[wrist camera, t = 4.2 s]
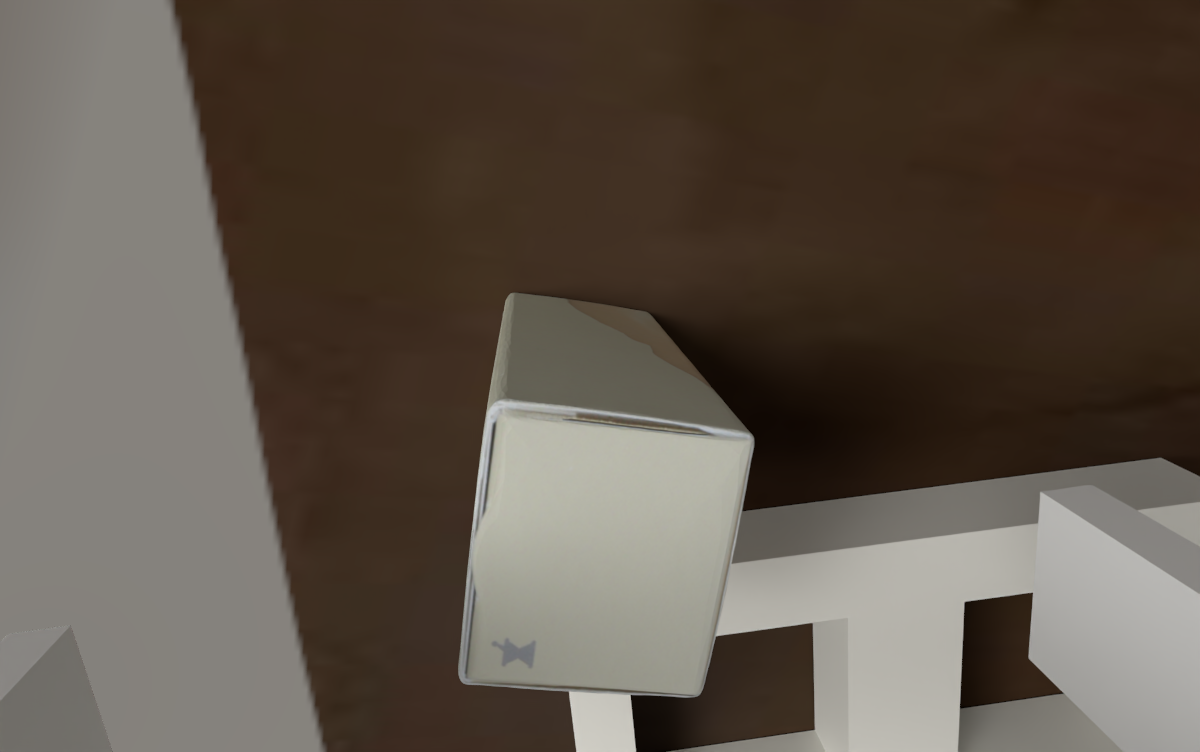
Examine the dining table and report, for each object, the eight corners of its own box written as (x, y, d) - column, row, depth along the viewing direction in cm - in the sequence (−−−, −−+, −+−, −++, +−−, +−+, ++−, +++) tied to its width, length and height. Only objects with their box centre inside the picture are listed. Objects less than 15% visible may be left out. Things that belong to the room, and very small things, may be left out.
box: (624, 469, 24) (702, 721, 13) (483, 453, 23) (448, 703, 13) (653, 301, 23) (765, 434, 12) (505, 280, 22) (485, 401, 12)
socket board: (1160, 457, 26) (1256, 504, 22) (1120, 800, 30) (1196, 883, 26) (552, 535, 24) (556, 596, 21) (595, 882, 28) (604, 980, 25)
